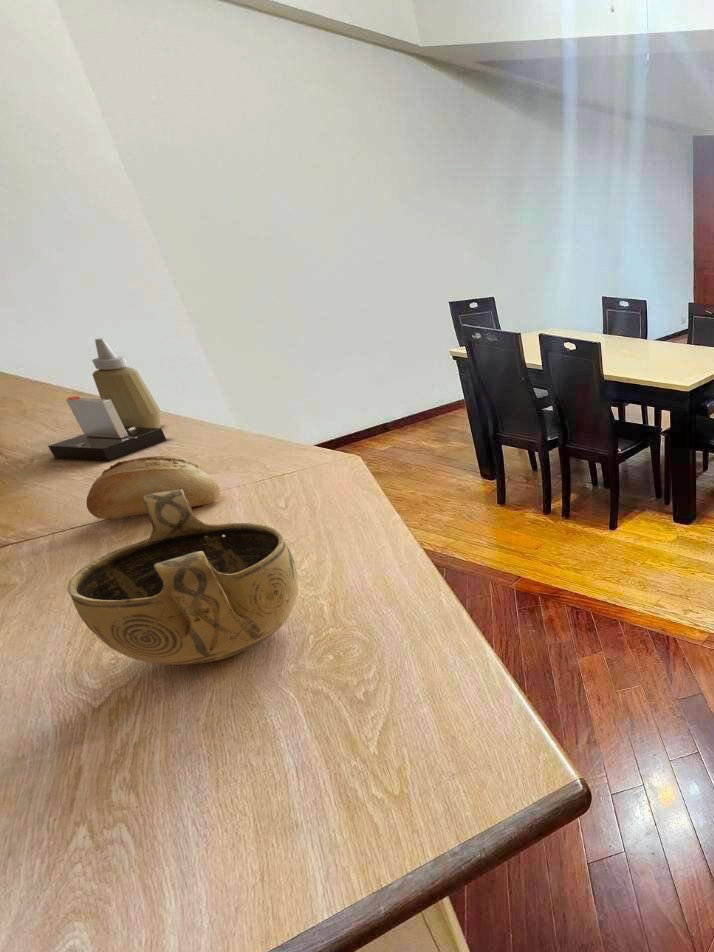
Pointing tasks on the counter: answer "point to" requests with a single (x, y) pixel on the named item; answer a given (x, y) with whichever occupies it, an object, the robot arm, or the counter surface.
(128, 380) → the squeeze bottle
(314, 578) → the counter surface
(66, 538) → the counter surface
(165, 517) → the ceramic bowl
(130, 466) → the bread roll
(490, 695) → the counter surface
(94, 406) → the red-tipped white tile
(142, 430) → the panel
